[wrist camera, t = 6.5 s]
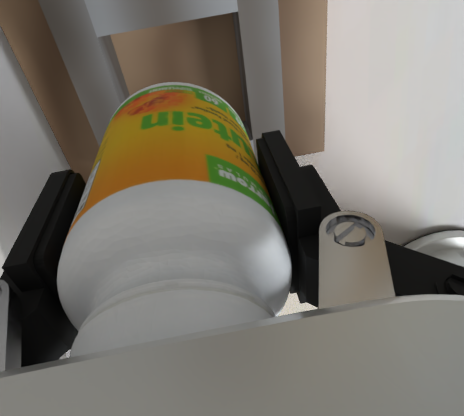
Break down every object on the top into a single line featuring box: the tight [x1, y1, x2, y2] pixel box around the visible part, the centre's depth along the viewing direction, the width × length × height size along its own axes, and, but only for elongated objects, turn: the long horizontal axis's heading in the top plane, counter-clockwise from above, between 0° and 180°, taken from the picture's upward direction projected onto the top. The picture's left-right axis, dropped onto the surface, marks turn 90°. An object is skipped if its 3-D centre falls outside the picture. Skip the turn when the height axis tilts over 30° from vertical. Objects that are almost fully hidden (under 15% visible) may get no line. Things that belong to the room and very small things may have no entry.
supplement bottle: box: [57, 82, 292, 357], centre depth 10 cm, size 5×5×10 cm
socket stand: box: [0, 0, 327, 184], centre depth 21 cm, size 18×14×4 cm
